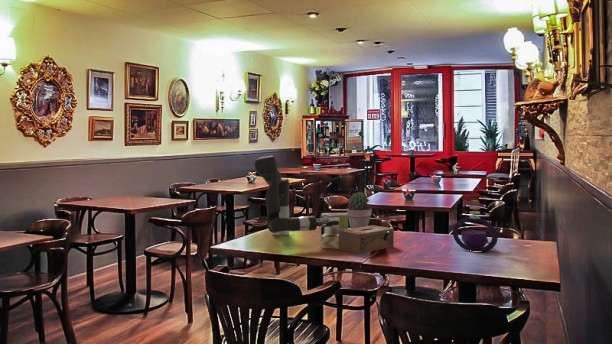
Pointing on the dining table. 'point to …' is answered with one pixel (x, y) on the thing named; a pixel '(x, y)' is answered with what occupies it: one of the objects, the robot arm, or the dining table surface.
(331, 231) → the canister
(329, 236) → the chevron patterned box
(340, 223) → the tea box
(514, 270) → the dining table surface
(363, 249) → the tissue box cover
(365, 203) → the potted plant
